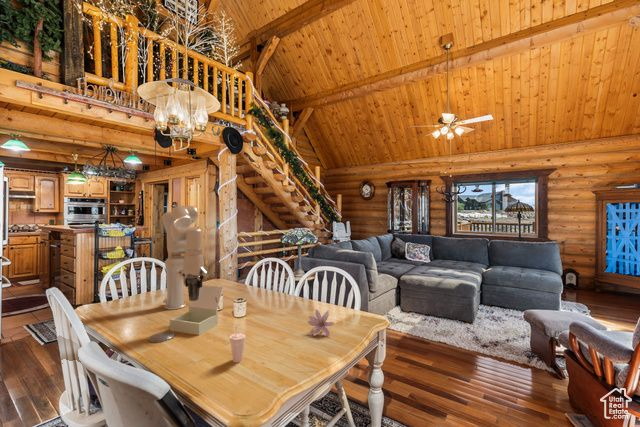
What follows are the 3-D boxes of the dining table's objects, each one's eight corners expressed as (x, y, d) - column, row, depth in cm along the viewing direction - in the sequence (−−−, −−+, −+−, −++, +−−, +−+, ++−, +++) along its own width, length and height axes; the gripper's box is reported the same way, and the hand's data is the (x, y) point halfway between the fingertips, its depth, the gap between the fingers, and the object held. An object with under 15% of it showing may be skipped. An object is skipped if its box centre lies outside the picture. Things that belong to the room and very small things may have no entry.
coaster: (142, 340, 138) (142, 339, 138) (162, 331, 149) (162, 330, 149) (161, 344, 135) (161, 342, 135) (179, 334, 145) (179, 333, 145)
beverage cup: (204, 298, 157) (204, 260, 156) (194, 302, 150) (194, 263, 150) (193, 296, 159) (193, 259, 159) (182, 300, 153) (183, 261, 152)
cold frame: (170, 330, 150) (169, 293, 150) (196, 317, 168) (196, 284, 168) (199, 335, 145) (198, 296, 145) (223, 321, 163) (223, 286, 162)
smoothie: (231, 356, 123) (231, 322, 123) (247, 355, 124) (247, 322, 124) (227, 364, 117) (227, 328, 117) (244, 363, 117) (244, 328, 117)
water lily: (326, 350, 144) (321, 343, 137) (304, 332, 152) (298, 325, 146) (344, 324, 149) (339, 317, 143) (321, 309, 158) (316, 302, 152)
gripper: (174, 252, 153) (174, 287, 154) (202, 254, 148) (202, 290, 148) (185, 250, 160) (185, 283, 161) (212, 252, 155) (212, 286, 155)
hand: (193, 286), depth 155 cm, fingers closed on beverage cup, 6 cm apart
